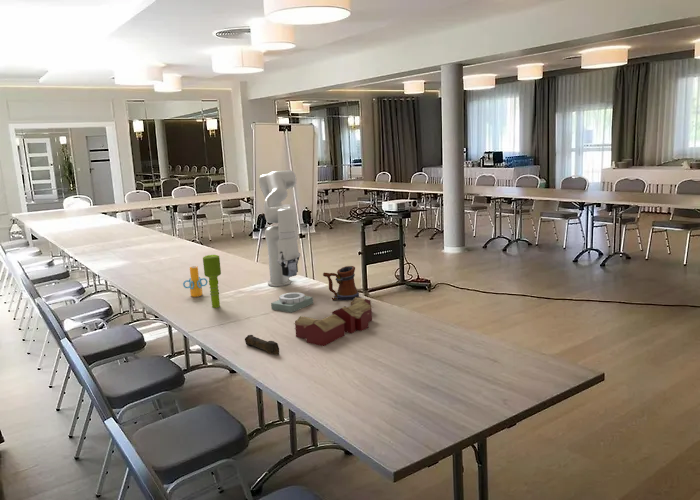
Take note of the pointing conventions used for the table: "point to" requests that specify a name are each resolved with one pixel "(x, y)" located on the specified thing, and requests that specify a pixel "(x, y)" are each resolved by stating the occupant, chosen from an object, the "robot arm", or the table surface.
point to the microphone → (213, 276)
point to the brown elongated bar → (263, 344)
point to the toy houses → (335, 323)
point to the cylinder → (195, 282)
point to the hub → (291, 268)
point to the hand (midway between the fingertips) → (290, 273)
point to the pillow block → (291, 302)
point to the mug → (343, 283)
